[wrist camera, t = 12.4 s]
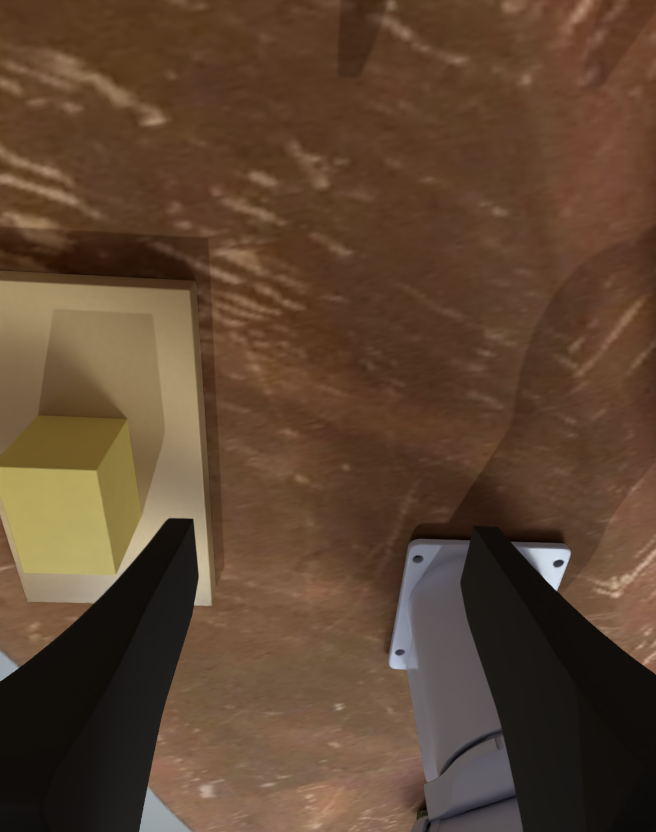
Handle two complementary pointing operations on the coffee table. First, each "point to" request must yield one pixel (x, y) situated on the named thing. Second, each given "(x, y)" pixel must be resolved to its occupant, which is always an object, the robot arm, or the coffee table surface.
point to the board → (112, 397)
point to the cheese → (71, 494)
